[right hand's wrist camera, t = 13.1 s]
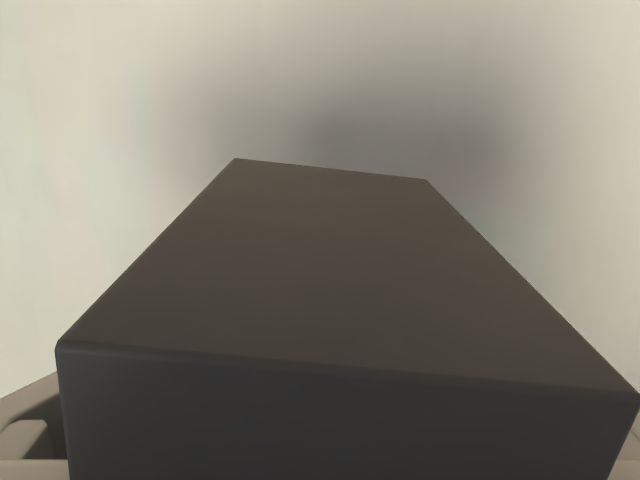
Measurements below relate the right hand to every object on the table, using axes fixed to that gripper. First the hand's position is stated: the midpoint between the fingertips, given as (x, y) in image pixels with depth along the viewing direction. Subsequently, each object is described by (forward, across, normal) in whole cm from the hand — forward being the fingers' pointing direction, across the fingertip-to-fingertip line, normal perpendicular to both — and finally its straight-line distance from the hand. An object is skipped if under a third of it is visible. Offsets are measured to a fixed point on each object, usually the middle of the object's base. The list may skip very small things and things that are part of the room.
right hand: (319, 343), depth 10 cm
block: (+4, -1, -11) cm, 11 cm away
